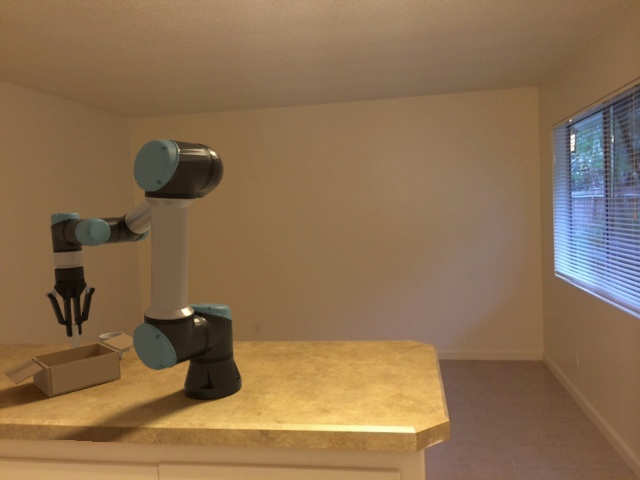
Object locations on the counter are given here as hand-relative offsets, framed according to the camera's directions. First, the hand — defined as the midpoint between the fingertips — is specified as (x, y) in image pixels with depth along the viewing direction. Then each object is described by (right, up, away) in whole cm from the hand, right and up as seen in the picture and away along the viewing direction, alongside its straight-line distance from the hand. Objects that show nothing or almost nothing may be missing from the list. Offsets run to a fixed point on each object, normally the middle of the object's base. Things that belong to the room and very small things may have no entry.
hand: (75, 346), depth 144 cm
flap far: (+7, -1, +7) cm, 10 cm away
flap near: (-7, -3, -7) cm, 10 cm away
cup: (+3, -9, +22) cm, 24 cm away
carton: (0, -10, +1) cm, 10 cm away
